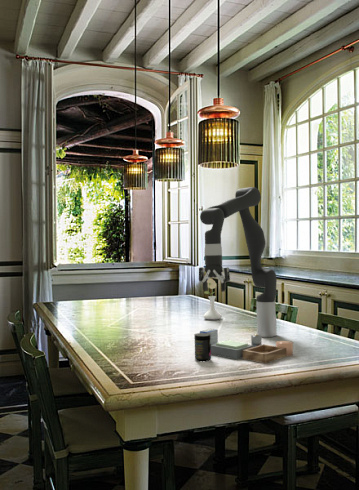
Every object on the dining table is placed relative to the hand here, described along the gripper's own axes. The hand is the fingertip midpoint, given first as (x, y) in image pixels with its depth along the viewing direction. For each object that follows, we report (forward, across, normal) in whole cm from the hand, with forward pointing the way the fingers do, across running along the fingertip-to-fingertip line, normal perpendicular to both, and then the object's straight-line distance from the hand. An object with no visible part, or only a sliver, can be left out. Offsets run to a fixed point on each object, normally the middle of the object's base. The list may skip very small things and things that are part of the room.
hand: (214, 291), depth 221 cm
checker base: (+26, -9, +2) cm, 28 cm away
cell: (+27, -15, -9) cm, 32 cm away
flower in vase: (+27, +42, -74) cm, 90 cm away
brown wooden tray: (+26, -23, +2) cm, 35 cm away
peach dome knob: (+27, -28, -8) cm, 40 cm away
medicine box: (+27, +5, -2) cm, 27 cm away
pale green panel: (+23, -9, +2) cm, 25 cm away
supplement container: (+26, -3, +16) cm, 31 cm away
